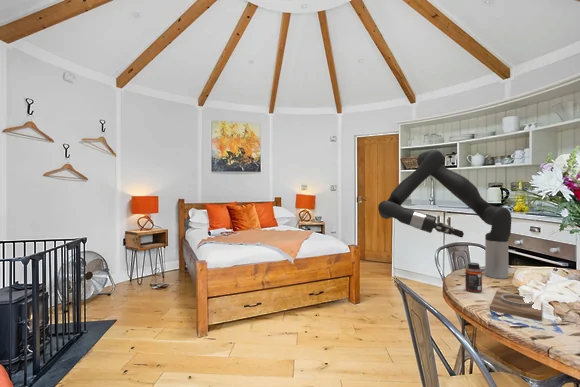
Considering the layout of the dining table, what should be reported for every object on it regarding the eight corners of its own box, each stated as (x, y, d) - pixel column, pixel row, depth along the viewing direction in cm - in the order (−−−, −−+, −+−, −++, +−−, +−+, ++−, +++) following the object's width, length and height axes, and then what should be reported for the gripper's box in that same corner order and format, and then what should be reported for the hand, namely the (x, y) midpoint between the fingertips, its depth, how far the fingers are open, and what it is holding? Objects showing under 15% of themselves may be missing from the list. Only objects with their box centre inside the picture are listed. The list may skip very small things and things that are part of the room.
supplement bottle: (484, 293, 126) (484, 265, 125) (468, 292, 127) (468, 264, 126) (478, 288, 131) (478, 262, 131) (463, 287, 133) (463, 261, 132)
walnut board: (496, 294, 124) (496, 287, 124) (541, 302, 115) (541, 295, 115) (489, 310, 108) (490, 302, 108) (541, 320, 100) (541, 312, 100)
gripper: (424, 213, 131) (466, 227, 124) (426, 213, 144) (464, 225, 137) (418, 230, 132) (460, 244, 125) (421, 228, 145) (459, 241, 137)
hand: (462, 234), depth 131 cm, fingers open, 8 cm apart
